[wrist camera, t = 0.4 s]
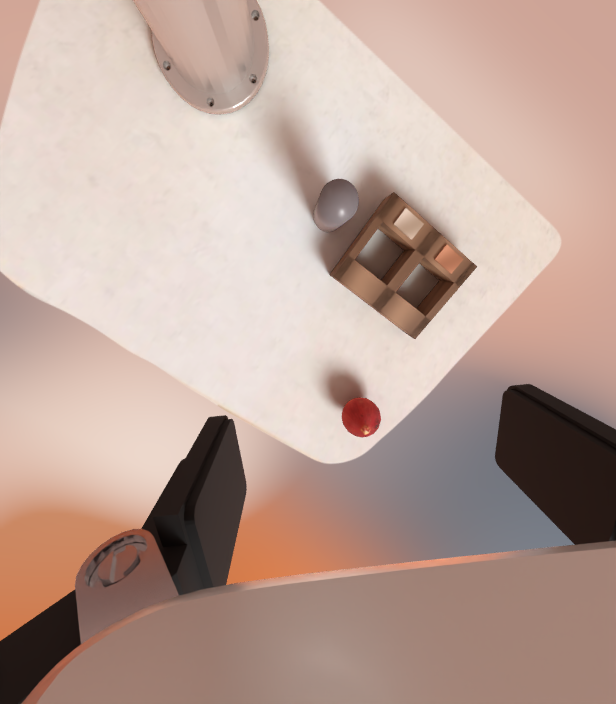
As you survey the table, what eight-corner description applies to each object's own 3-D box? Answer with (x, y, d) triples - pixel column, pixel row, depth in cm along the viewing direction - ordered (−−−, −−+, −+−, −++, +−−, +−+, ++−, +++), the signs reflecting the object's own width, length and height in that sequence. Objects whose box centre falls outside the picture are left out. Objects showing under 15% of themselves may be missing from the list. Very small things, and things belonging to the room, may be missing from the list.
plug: (307, 219, 38) (311, 206, 29) (325, 192, 37) (335, 169, 28) (331, 238, 39) (342, 231, 30) (349, 212, 38) (366, 196, 29)
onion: (377, 392, 47) (393, 418, 39) (368, 422, 48) (382, 453, 41) (343, 386, 46) (352, 412, 38) (335, 417, 48) (342, 447, 40)
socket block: (329, 274, 41) (333, 276, 36) (384, 198, 38) (394, 191, 34) (404, 332, 44) (415, 339, 40) (460, 265, 41) (478, 266, 37)
